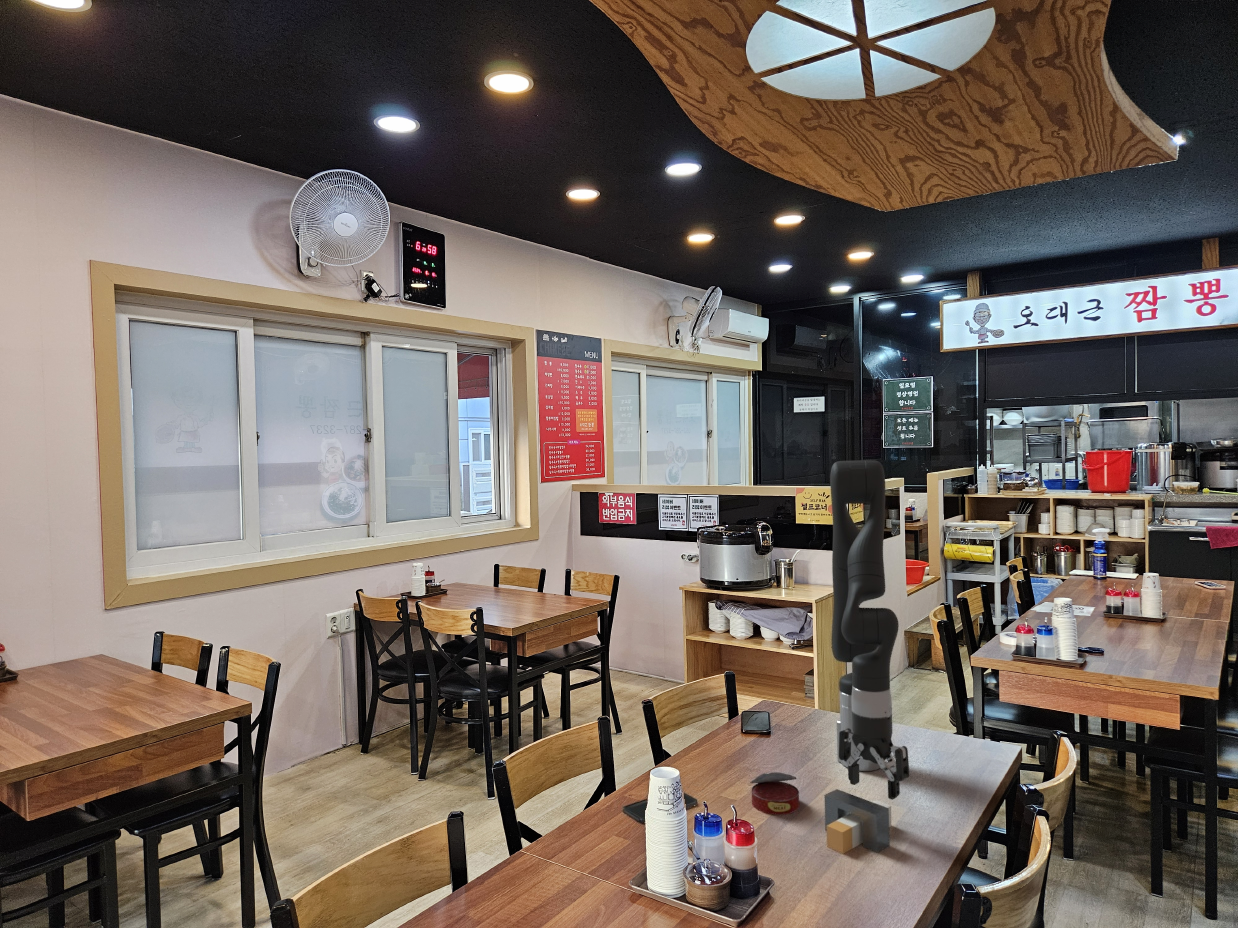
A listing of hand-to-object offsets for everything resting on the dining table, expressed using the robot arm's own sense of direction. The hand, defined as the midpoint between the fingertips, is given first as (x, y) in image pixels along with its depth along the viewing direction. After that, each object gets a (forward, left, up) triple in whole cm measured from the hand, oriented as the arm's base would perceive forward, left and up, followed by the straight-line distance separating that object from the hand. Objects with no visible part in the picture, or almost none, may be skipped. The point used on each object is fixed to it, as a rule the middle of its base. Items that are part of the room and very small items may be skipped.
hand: (873, 790), depth 155 cm
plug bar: (0, -5, -7) cm, 9 cm away
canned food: (-20, -6, -8) cm, 22 cm away
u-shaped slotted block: (0, -6, -7) cm, 10 cm away
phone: (-35, -25, -8) cm, 44 cm away
